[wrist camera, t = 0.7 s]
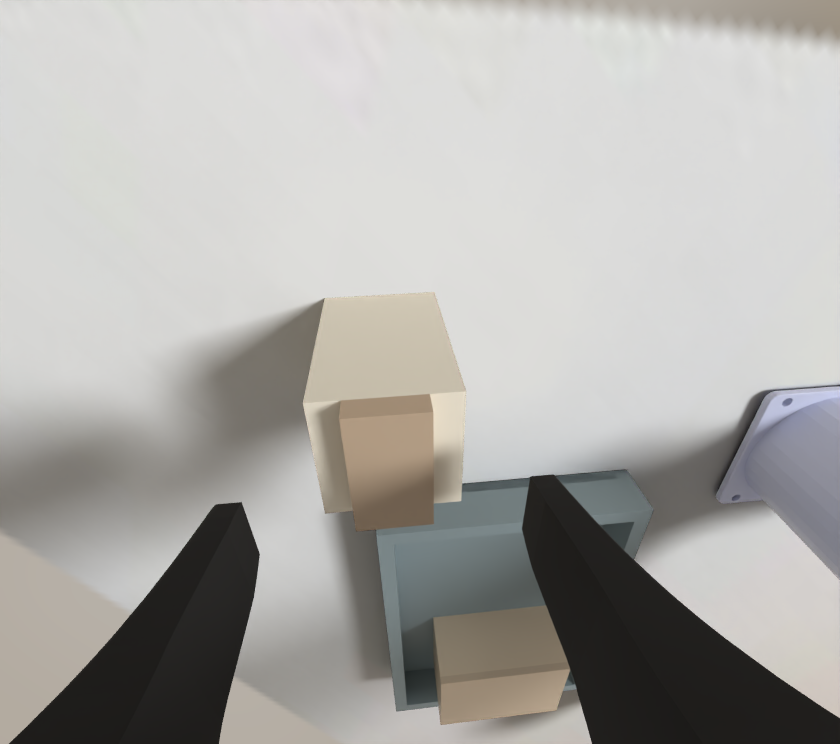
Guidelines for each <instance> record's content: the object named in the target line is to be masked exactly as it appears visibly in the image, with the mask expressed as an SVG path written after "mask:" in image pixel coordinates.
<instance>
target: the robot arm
mask: <svg viewBox="0 0 840 744" xmlns="http://www.w3.org/2000/svg"><path fill="white" fill-rule="evenodd" d="M716 499H717V500H718V501H719V502H720V503H722V504H728V503H738V502H749V501H759V500H764V501H765V502H766V503H767V504H768V505H769V507H770V508H771V509H772V510H773V511H774V512H775V513H776V514H777V515H778V516H779V517H780V518H781V519H782V520H783V521H784V522H785V523H786V524H787V525H788V526H789V527H790V528H791V530H792V531H793V532H794V533H795V534H796V535H797V536H798V537H799V538H800V539H801V540H802V541H803V542H804V543H805V544H806V545H807V546H808V547H809V548H810V549H811V550H812V551H813V553H814V554H815V555H816V556H817V557H818V558H819V559H820V560H821V561H822V562H823V563H824V564H825V565H826V566H827V567H828V568H829V569H830V570H831V571H832V572H833V573H834V574H835V576H836V577H837V578H838V579H839V580H840V386H835V387H822V388H809V389H796V390H782V391H774V392H771V393H769V394H768V395H766V396H765V398H764V399H763V401H762V403H761V405H760V407H759V409H758V411H757V413H756V415H755V417H754V419H753V421H752V423H751V425H750V427H749V429H748V431H747V433H746V435H745V437H744V439H743V441H742V443H741V445H740V447H739V449H738V451H737V453H736V455H735V457H734V459H733V461H732V463H731V466H730V468H729V470H728V472H727V474H726V476H725V478H724V480H723V482H722V484H721V486H720V488H719V490H718V492H717V494H716ZM522 532H523V536H524V540H525V544H526V548H527V552H528V555H529V559H530V563H531V566H532V570H533V572H534V575H535V578H536V580H537V583H538V586H539V588H540V591H541V593H542V596H543V599H544V601H545V604H546V607H547V609H548V612H549V614H550V617H551V620H552V622H553V625H554V627H555V630H556V632H557V635H558V638H559V640H560V643H561V645H562V648H563V651H564V653H565V656H566V658H567V661H568V664H569V667H570V670H571V673H572V676H573V679H574V682H575V685H576V689H577V692H578V696H579V699H580V703H581V706H582V709H583V713H584V716H585V720H586V723H587V727H588V730H589V734H590V738H591V741H592V744H840V718H839V717H837V716H835V715H834V714H832V713H831V712H829V711H828V710H826V709H824V708H823V707H821V706H820V705H818V704H817V703H815V702H814V701H812V700H811V699H809V698H808V697H807V696H805V695H804V694H802V693H801V692H799V691H798V690H796V689H795V688H793V687H792V686H790V685H789V684H787V683H786V682H784V681H783V680H781V679H780V678H779V677H777V676H776V675H774V674H773V673H772V672H770V671H769V670H768V669H766V668H765V667H763V666H762V665H761V664H759V663H758V662H757V661H755V660H754V659H752V658H751V657H750V656H748V655H747V654H746V653H744V652H743V651H742V650H740V649H739V648H737V647H736V646H735V645H733V644H732V643H731V642H729V641H728V640H727V639H725V638H724V637H723V636H721V635H720V634H719V633H718V632H716V631H715V630H714V629H713V628H711V627H710V626H709V625H708V624H706V623H705V622H704V621H703V620H701V619H700V618H699V617H698V616H696V615H695V614H694V613H693V612H692V611H690V610H689V609H688V608H687V607H686V606H684V605H683V604H682V603H681V602H680V601H678V600H677V599H676V598H675V597H674V596H673V595H672V594H670V593H669V592H668V591H667V590H666V589H665V588H664V587H663V586H661V585H660V584H659V583H658V582H657V581H656V580H655V579H654V578H653V577H652V576H651V575H649V574H648V573H647V572H646V571H645V570H644V569H643V568H642V567H641V566H640V565H639V564H638V563H637V562H636V561H635V560H634V559H633V558H632V557H631V556H630V555H629V554H628V553H626V552H625V551H624V550H623V549H622V547H621V546H620V545H619V544H618V543H617V542H616V541H615V540H614V539H613V538H612V537H611V536H610V535H609V534H608V533H607V532H606V531H605V530H604V529H603V528H602V527H601V526H600V525H599V524H598V523H597V522H596V521H595V520H594V518H593V517H592V516H591V515H590V514H589V513H588V512H587V511H586V510H585V509H584V508H583V506H582V505H581V504H580V503H579V502H578V501H577V500H576V499H575V497H574V496H573V495H572V494H571V493H570V492H569V491H568V490H567V488H566V487H565V486H564V485H563V484H562V483H561V482H560V480H559V479H558V478H557V477H556V476H555V475H543V476H532V477H530V481H529V487H528V494H527V500H526V506H525V512H524V518H523V524H522ZM259 556H260V554H259V551H258V548H257V545H256V542H255V539H254V537H253V534H252V531H251V528H250V525H249V522H248V519H247V517H246V514H245V511H244V508H243V505H242V502H239V503H228V504H217V505H215V506H214V507H213V508H212V509H211V511H210V512H209V514H208V515H207V516H206V518H205V519H204V520H203V522H202V523H201V525H200V526H199V527H198V529H197V530H196V532H195V533H194V534H193V536H192V537H191V538H190V540H189V541H188V542H187V544H186V545H185V547H184V548H183V549H182V551H181V552H180V553H179V555H178V556H177V557H176V559H175V560H174V561H173V563H172V564H171V565H170V566H169V568H168V569H167V570H166V572H165V573H164V574H163V575H162V577H161V578H160V579H159V581H158V582H157V583H156V585H155V586H154V587H153V588H152V590H151V591H150V592H149V593H148V595H147V596H146V597H145V598H144V600H143V601H142V602H141V603H140V604H139V606H138V607H137V608H136V609H135V610H134V612H133V613H132V614H131V615H130V616H129V618H128V619H127V620H126V621H125V622H124V624H123V625H122V626H121V627H120V628H119V630H118V631H117V632H116V633H115V634H114V635H113V637H112V638H111V639H110V640H109V641H108V642H107V643H106V644H105V646H104V647H103V648H102V649H101V650H100V651H99V652H98V654H97V655H96V656H95V657H94V658H93V659H92V660H91V661H90V662H89V663H88V664H87V665H86V667H85V668H84V669H83V670H82V671H81V672H80V673H79V674H78V675H77V676H76V677H75V678H74V679H73V680H72V681H71V682H70V684H69V685H68V686H67V687H66V688H65V689H64V690H63V691H62V692H61V693H60V694H59V695H58V696H57V697H56V698H55V699H54V700H53V701H52V702H51V703H50V704H49V705H48V706H47V707H46V708H45V709H44V710H43V711H42V712H41V713H40V714H39V715H38V716H37V717H36V718H35V719H34V720H33V721H32V722H31V723H30V724H29V725H28V726H27V727H26V728H25V729H24V730H23V731H22V732H21V733H20V734H19V735H18V736H17V737H16V738H14V739H13V740H12V741H11V742H10V743H9V744H219V739H220V733H221V727H222V722H223V717H224V712H225V708H226V704H227V699H228V695H229V692H230V688H231V683H232V680H233V676H234V672H235V669H236V665H237V661H238V657H239V653H240V649H241V646H242V642H243V638H244V634H245V630H246V626H247V622H248V618H249V614H250V610H251V606H252V602H253V598H254V592H255V586H256V579H257V572H258V564H259Z"/></svg>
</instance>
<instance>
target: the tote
mask: <svg viewBox="0 0 840 744" xmlns="http://www.w3.org/2000/svg"><path fill="white" fill-rule="evenodd" d="M556 477H557V478H558V479H559V480H560V482H561V483H562V484H563V485H564V486H565V487H566V488H567V490H568V491H569V492H570V493H571V494H572V495H573V496H574V497H575V499H576V500H577V501H578V502H579V503H580V504H581V505H582V506H583V508H584V509H585V510H586V511H587V512H588V513H589V514H590V515H591V516H592V517H593V518H594V520H595V521H596V522H597V523H598V524H599V525H600V526H601V527H602V528H603V529H604V530H605V531H606V532H607V533H608V534H609V535H610V536H611V537H612V538H613V539H614V540H615V541H616V542H617V543H618V544H619V545H620V546H621V547H622V549H623V550H624V551H625V552H626V553H628V554H629V555H630V556H631V557H632V558H633V559H634V558H635V556H636V553H637V551H638V548H639V546H640V543H641V541H642V538H643V535H644V533H645V530H646V528H647V525H648V523H649V520H650V518H651V515H652V513H653V510H654V509H653V508H652V506H651V505H650V504H649V502H648V501H647V499H646V498H645V496H644V495H643V493H642V492H641V490H640V489H639V487H638V486H637V484H636V483H635V481H634V480H633V478H632V477H631V475H630V474H629V472H628V471H627V470H618V471H607V472H595V473H584V474H572V475H561V476H556ZM529 481H530V478H526V479H515V480H503V481H492V482H480V483H469V484H462V494H461V501H457V502H446V503H435V504H434V524H431V525H420V526H409V527H399V528H388V529H378V530H376V538H377V546H378V555H379V564H380V573H381V582H382V590H383V599H384V608H385V617H386V625H387V634H388V643H389V652H390V661H391V669H392V678H393V687H394V696H395V705H396V711H404V710H413V709H421V708H429V707H437V706H438V697H437V688H436V679H435V670H434V661H433V617H443V616H452V615H461V614H470V613H480V612H489V611H498V610H508V609H517V608H526V607H535V606H545V605H546V604H545V601H544V599H543V596H542V593H541V591H540V588H539V586H538V583H537V580H536V578H535V575H534V572H533V570H532V566H531V563H530V559H529V555H528V552H527V548H526V544H525V540H524V536H523V532H522V524H523V518H524V512H525V506H526V500H527V494H528V487H529ZM568 690H576V685H575V682H574V679H573V676H572V673H571V670H570V672H569V675H568V678H567V680H566V683H565V686H564V689H563V691H568Z"/></svg>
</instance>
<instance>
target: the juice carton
mask: <svg viewBox="0 0 840 744" xmlns="http://www.w3.org/2000/svg"><path fill="white" fill-rule="evenodd" d="M303 407H304V412H305V417H306V422H307V426H308V431H309V436H310V441H311V446H312V451H313V456H314V461H315V466H316V471H317V476H318V480H319V485H320V490H321V495H322V500H323V505H324V510H325V513H336V512H347V511H353V515H354V521H355V528H356V531H367V530H378V529H388V528H399V527H409V526H420V525H431V524H434V504H435V503H446V502H457V501H461V494H462V472H463V451H464V429H465V407H466V389H465V386H464V383H463V380H462V377H461V373H460V370H459V367H458V364H457V361H456V358H455V355H454V352H453V349H452V345H451V342H450V339H449V336H448V333H447V330H446V327H445V324H444V321H443V317H442V314H441V311H440V308H439V305H438V302H437V299H436V296H435V293H434V292H426V293H408V294H391V295H373V296H355V297H337V298H325V299H324V304H323V309H322V313H321V318H320V323H319V328H318V333H317V337H316V342H315V347H314V352H313V357H312V361H311V366H310V371H309V376H308V381H307V385H306V390H305V395H304V400H303Z"/></svg>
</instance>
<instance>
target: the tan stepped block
mask: <svg viewBox="0 0 840 744" xmlns="http://www.w3.org/2000/svg"><path fill="white" fill-rule="evenodd" d="M433 661H434V670H435V679H436V688H437V697H438V706H439V715H440V724H441V725H444V724H452V723H460V722H468V721H476V720H484V719H492V718H500V717H508V716H516V715H524V714H532V713H540V712H548V711H556V709H557V706H558V704H559V701H560V698H561V695H562V692H563V689H564V686H565V683H566V680H567V678H568V675H569V672H570V667H569V664H568V661H567V658H566V656H565V653H564V651H563V648H562V645H561V643H560V640H559V638H558V635H557V632H556V630H555V627H554V625H553V622H552V620H551V617H550V614H549V612H548V609H547V607H546V605H545V606H535V607H526V608H517V609H508V610H498V611H489V612H480V613H470V614H461V615H452V616H443V617H433Z"/></svg>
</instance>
